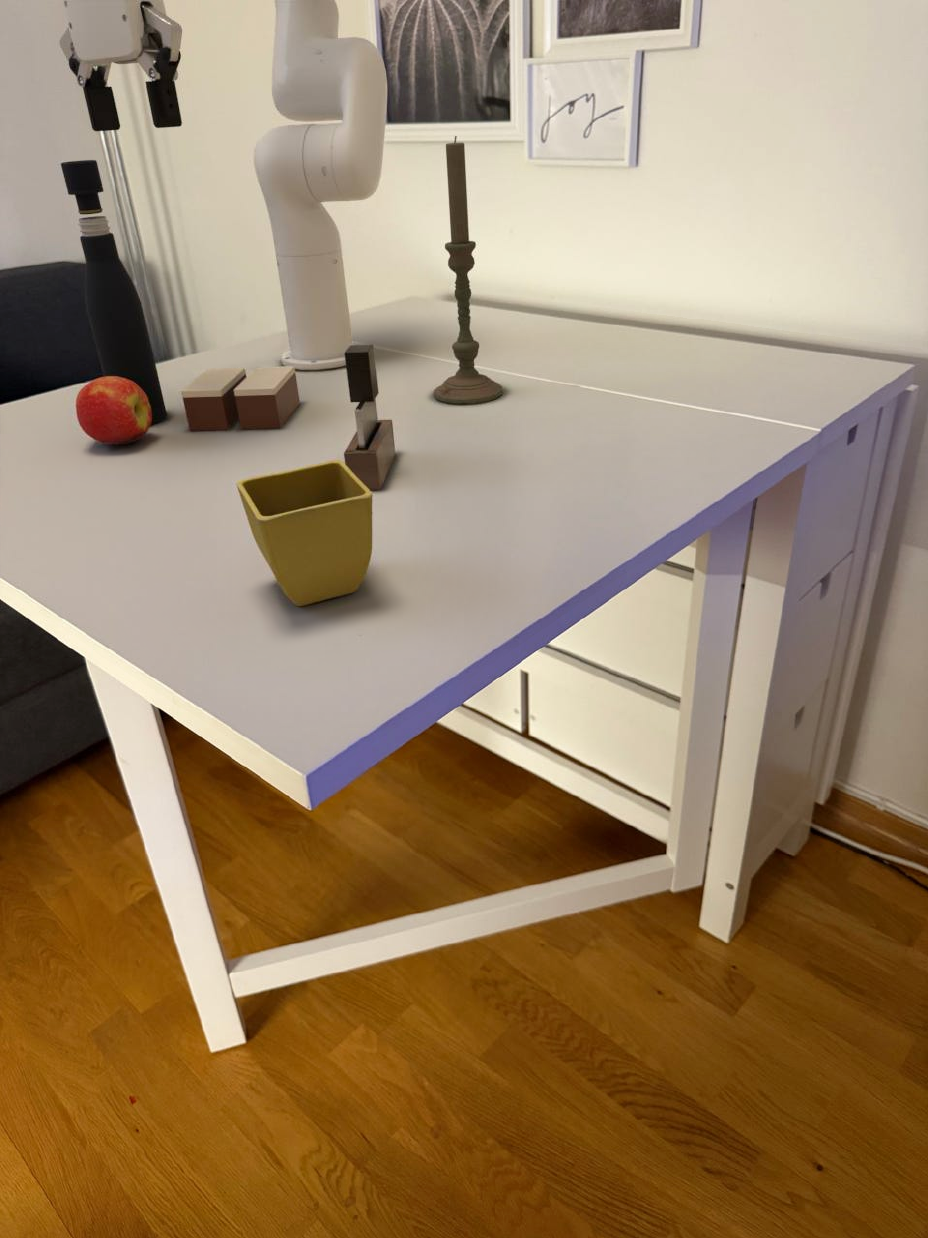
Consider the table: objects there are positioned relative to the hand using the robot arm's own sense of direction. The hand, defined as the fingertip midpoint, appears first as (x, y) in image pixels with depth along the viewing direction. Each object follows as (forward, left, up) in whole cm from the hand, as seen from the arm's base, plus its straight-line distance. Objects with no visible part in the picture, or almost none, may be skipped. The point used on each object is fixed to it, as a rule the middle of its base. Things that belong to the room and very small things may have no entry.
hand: (137, 128), depth 93 cm
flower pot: (+39, +24, -33) cm, 57 cm away
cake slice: (-7, +7, -33) cm, 34 cm away
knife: (+13, +24, -33) cm, 43 cm away
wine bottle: (-7, -10, -33) cm, 35 cm away
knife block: (+13, +24, -33) cm, 43 cm away
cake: (-7, 0, -33) cm, 34 cm away
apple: (+2, -9, -33) cm, 35 cm away
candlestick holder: (-14, +32, -33) cm, 48 cm away
